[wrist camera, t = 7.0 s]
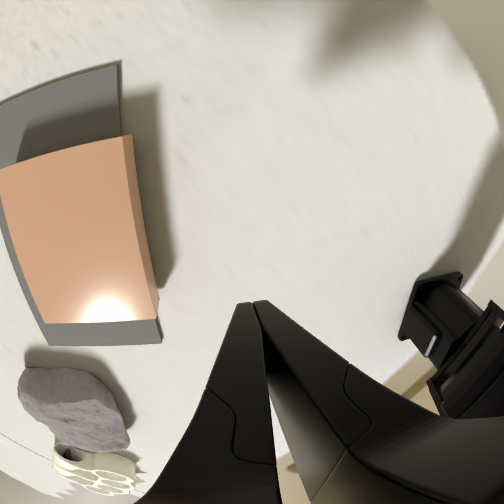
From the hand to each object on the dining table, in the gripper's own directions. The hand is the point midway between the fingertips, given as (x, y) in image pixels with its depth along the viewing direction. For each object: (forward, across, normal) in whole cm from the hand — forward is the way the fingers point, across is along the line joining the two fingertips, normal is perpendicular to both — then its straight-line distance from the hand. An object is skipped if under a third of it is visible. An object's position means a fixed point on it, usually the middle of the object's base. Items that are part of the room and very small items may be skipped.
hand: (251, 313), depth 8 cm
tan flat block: (+8, +4, 0) cm, 9 cm away
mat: (+9, +10, 0) cm, 14 cm away
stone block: (+10, +16, +18) cm, 26 cm away
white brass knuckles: (+10, +24, +37) cm, 45 cm away
